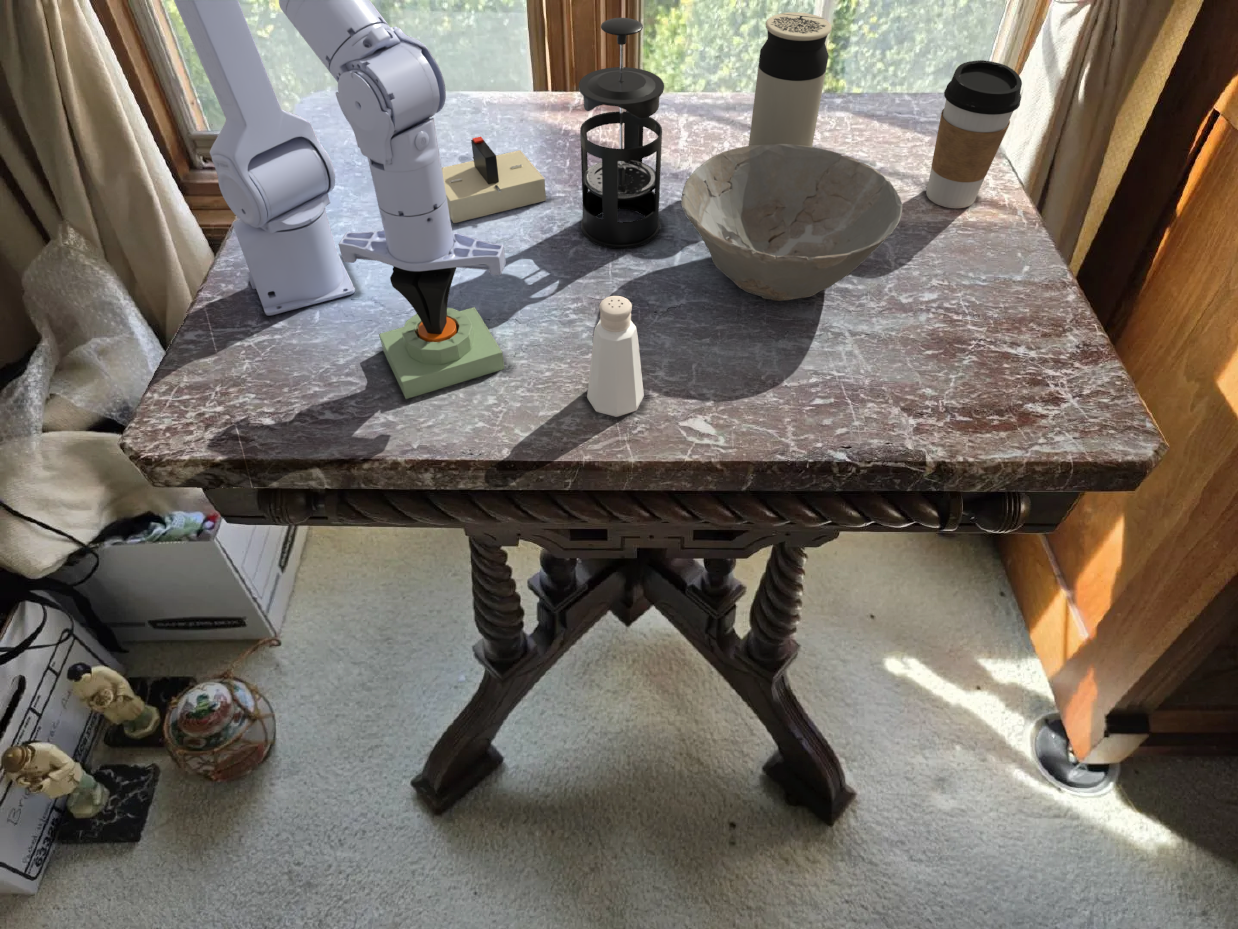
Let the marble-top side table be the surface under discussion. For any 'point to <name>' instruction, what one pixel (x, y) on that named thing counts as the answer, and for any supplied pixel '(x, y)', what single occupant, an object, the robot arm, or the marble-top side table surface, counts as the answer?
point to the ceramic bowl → (789, 216)
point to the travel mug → (790, 80)
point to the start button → (446, 334)
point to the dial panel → (492, 187)
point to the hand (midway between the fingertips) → (437, 327)
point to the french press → (621, 150)
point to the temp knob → (485, 160)
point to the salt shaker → (615, 360)
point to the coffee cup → (971, 130)
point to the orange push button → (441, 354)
